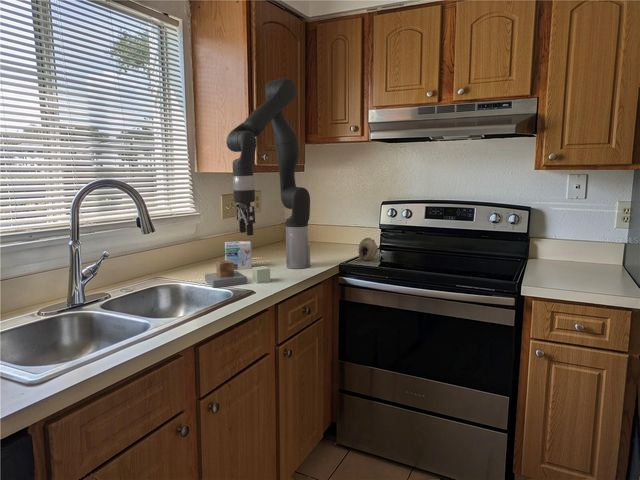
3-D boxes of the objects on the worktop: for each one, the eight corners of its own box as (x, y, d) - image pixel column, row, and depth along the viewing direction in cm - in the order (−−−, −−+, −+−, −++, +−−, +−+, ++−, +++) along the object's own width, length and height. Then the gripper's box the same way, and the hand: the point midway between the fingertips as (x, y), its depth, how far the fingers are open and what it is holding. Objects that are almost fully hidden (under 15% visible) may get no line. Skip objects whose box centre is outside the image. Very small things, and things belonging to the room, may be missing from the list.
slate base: (236, 276, 172) (236, 270, 172) (246, 283, 162) (246, 276, 161) (205, 280, 167) (204, 274, 166) (213, 287, 156) (213, 280, 156)
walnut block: (229, 273, 167) (229, 260, 166) (234, 275, 163) (233, 262, 162) (216, 274, 165) (216, 261, 164) (220, 277, 160) (219, 263, 160)
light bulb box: (226, 270, 184) (225, 244, 183) (225, 267, 191) (224, 241, 189) (252, 268, 187) (251, 242, 185) (250, 265, 193) (249, 240, 192)
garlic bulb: (357, 257, 208) (357, 236, 207) (376, 257, 208) (376, 236, 206) (358, 261, 199) (358, 239, 197) (378, 261, 198) (378, 239, 197)
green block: (265, 279, 169) (265, 266, 168) (270, 281, 164) (270, 268, 163) (252, 280, 166) (252, 267, 166) (257, 283, 162) (257, 269, 161)
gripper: (260, 189, 155) (262, 235, 158) (247, 187, 168) (250, 230, 171) (239, 190, 152) (242, 237, 155) (228, 188, 165) (230, 232, 167)
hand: (246, 233), depth 163 cm, fingers open, 8 cm apart
